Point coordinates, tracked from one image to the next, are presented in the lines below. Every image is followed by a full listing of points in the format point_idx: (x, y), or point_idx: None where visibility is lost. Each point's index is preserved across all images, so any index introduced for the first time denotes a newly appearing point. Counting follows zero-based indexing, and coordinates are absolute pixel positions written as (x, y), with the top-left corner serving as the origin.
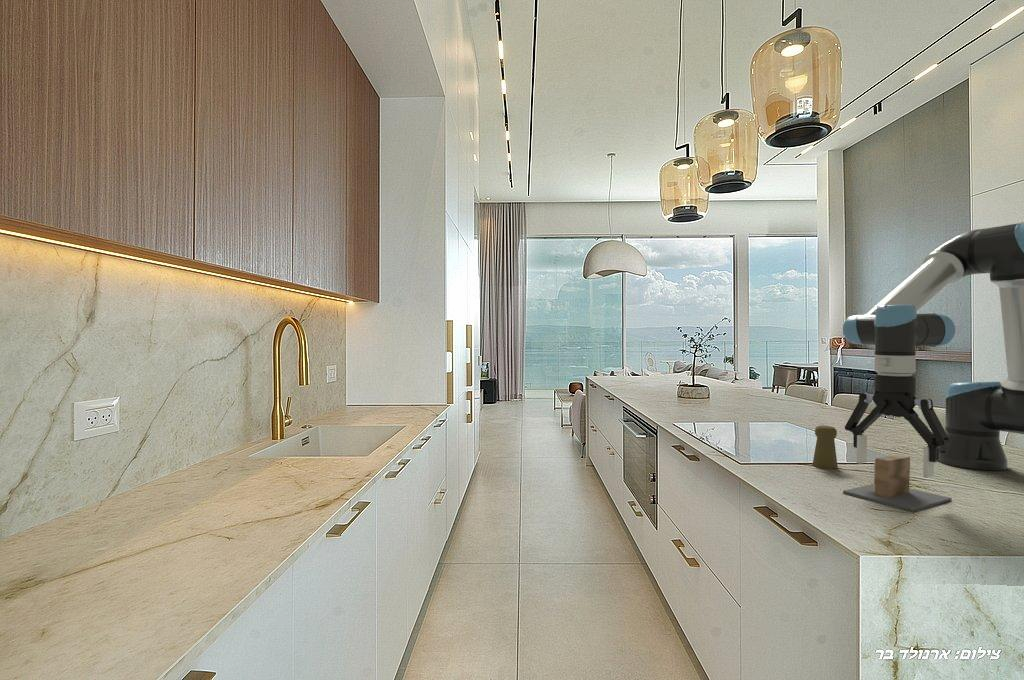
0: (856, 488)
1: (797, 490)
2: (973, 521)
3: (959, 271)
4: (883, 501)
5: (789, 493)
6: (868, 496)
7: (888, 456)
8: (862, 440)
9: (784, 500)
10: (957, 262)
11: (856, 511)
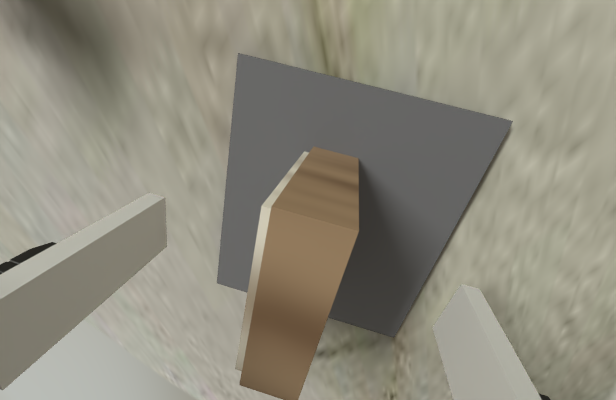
0: (226, 236)
1: (153, 316)
2: (538, 323)
3: None
4: None
5: (160, 345)
6: None
7: (259, 310)
8: (43, 328)
9: (185, 386)
10: None
11: None
